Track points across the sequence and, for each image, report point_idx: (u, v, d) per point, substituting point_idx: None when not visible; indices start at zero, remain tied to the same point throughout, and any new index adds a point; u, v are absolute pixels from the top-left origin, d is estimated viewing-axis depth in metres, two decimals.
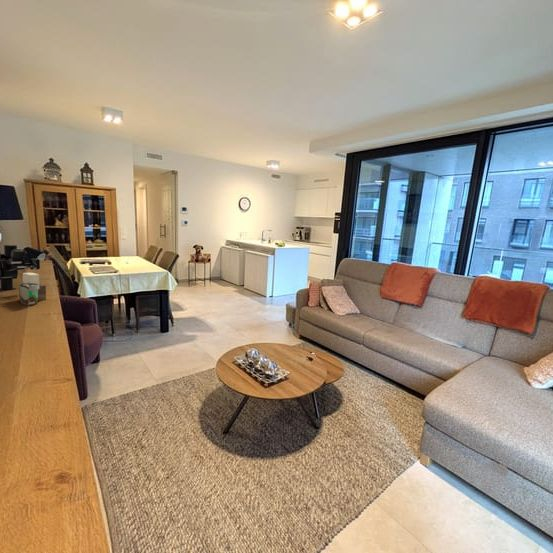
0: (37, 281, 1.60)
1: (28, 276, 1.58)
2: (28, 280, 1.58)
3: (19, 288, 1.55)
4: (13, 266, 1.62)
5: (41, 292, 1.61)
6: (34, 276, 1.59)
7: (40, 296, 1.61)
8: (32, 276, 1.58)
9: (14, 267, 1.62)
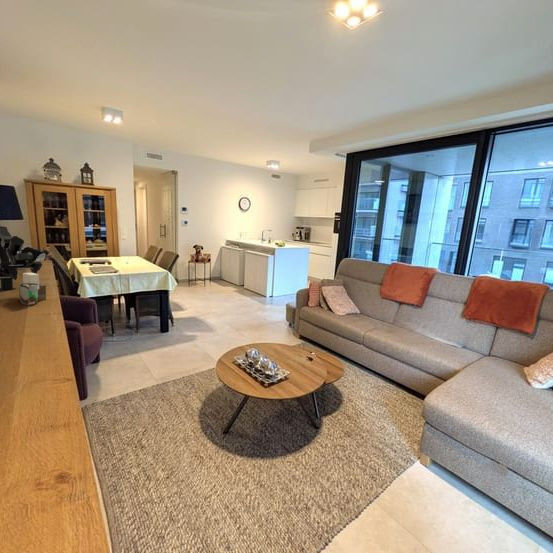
0: (37, 281, 1.60)
1: (28, 276, 1.58)
2: (28, 280, 1.58)
3: (19, 288, 1.55)
4: (13, 276, 1.59)
5: (41, 292, 1.61)
6: (34, 276, 1.59)
7: (40, 296, 1.61)
8: (32, 276, 1.58)
9: (13, 278, 1.59)
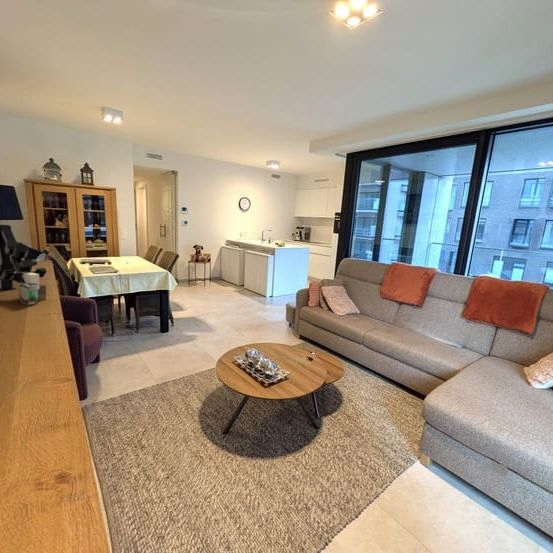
0: (37, 281, 1.60)
1: (28, 276, 1.58)
2: (28, 280, 1.58)
3: (19, 288, 1.55)
4: None
5: (41, 292, 1.61)
6: (34, 276, 1.59)
7: (40, 296, 1.61)
8: (32, 276, 1.58)
9: None
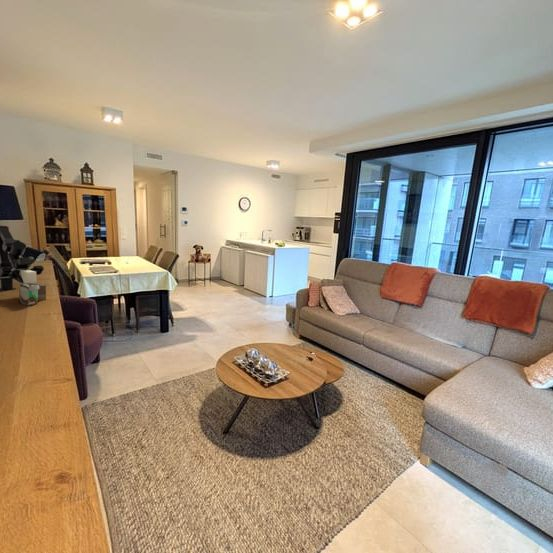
0: (34, 278, 1.61)
1: (25, 273, 1.59)
2: (25, 277, 1.60)
3: (19, 288, 1.55)
4: (20, 280, 1.61)
5: (41, 292, 1.61)
6: (31, 273, 1.60)
7: (40, 296, 1.61)
8: (29, 273, 1.59)
9: (20, 282, 1.61)
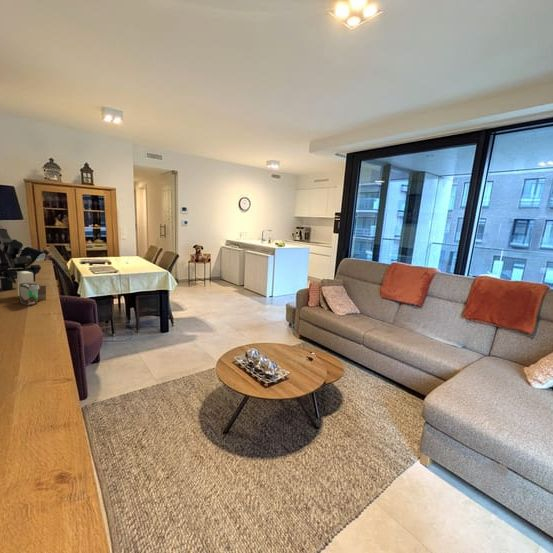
0: (31, 279, 1.63)
1: (22, 274, 1.61)
2: (22, 278, 1.61)
3: (19, 288, 1.55)
4: (12, 280, 1.60)
5: (41, 292, 1.61)
6: (28, 274, 1.62)
7: (40, 296, 1.61)
8: (26, 274, 1.61)
9: (13, 281, 1.60)
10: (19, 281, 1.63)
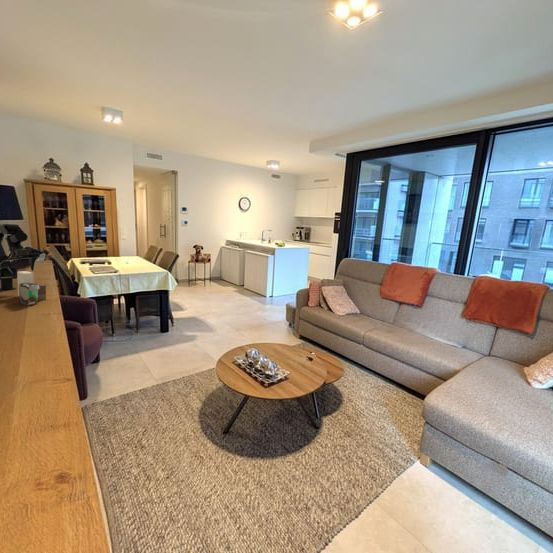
0: (31, 279, 1.63)
1: (22, 274, 1.61)
2: (22, 278, 1.61)
3: (19, 288, 1.55)
4: (10, 270, 1.67)
5: (41, 292, 1.61)
6: (28, 274, 1.62)
7: (40, 296, 1.61)
8: (26, 274, 1.61)
9: (11, 271, 1.67)
10: (19, 281, 1.63)
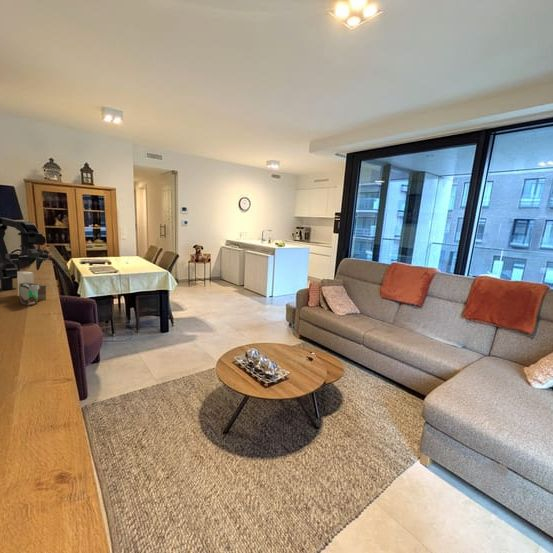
0: (31, 279, 1.63)
1: (22, 274, 1.61)
2: (22, 278, 1.61)
3: (19, 288, 1.55)
4: (17, 268, 1.69)
5: (41, 292, 1.61)
6: (28, 274, 1.62)
7: (40, 296, 1.61)
8: (26, 274, 1.61)
9: (17, 269, 1.69)
10: (19, 281, 1.63)
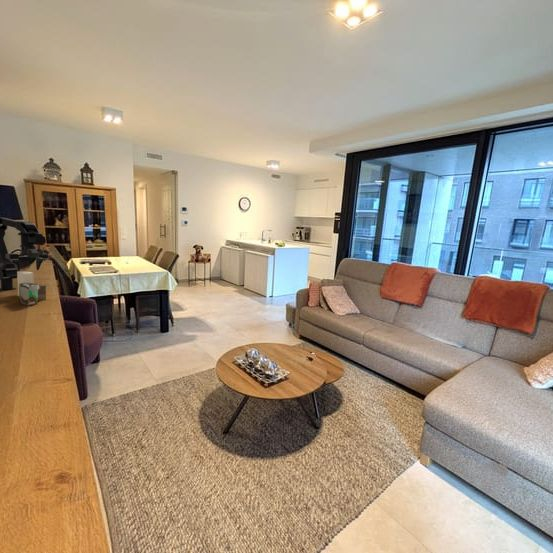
0: (31, 279, 1.63)
1: (22, 274, 1.61)
2: (22, 278, 1.61)
3: (19, 288, 1.55)
4: (17, 268, 1.69)
5: (41, 292, 1.61)
6: (28, 274, 1.62)
7: (40, 296, 1.61)
8: (26, 274, 1.61)
9: (17, 269, 1.69)
10: (19, 281, 1.63)
